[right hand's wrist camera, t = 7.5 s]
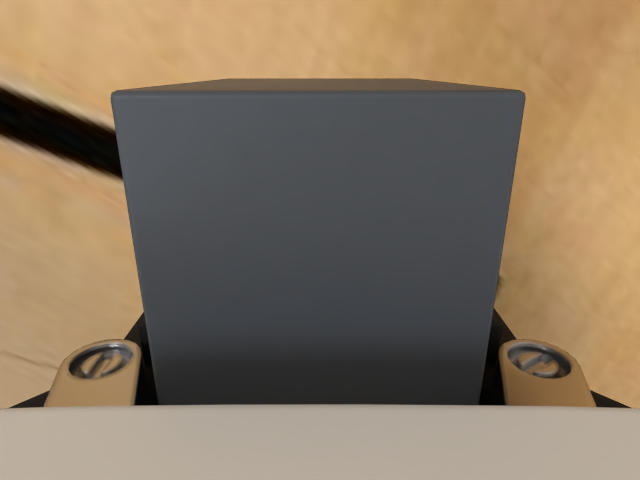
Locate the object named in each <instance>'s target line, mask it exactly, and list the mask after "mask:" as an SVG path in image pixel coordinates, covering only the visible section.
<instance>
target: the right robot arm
mask: <svg viewBox="0 0 640 480" xmlns="http://www.w3.org/2000/svg"><path fill="white" fill-rule="evenodd" d="M0 480H640V409H637V408H630V407H628V406H626V405H623V404H621V403H619V402H616V401H614V400H612V399H609V398H607V397H605V396H602V395H600V394H598V393H595V392H593V391H591V390H590V389H589V387H588V384H587V382H586V380H585V377H584V375H583V372H582V370H581V367H580V365H579V364H578V362H577V361H576V359H575V358H573V357H572V356H571V355H570V354H569V353H567V352H566V351H564V350H562V349H560V348H558V347H556V346H554V345H551V344H548V343H545V342H541V341H536V340H529V339H518V340H517V339H516V338H515V336H514V335H513V334H512V332H511V331H510V330H509V328H508V327H507V325H506V324H505V323H504V321H503V320H502V318H501V317H500V316H499V314H498V313H497V312H496V310H495V309H494V308H493V315H492V321H491V328H490V334H489V341H488V348H487V354H486V361H485V367H484V374H483V380H482V387H481V394H480V400H479V405H374V404H289V405H158V398H157V392H156V385H155V379H154V373H153V366H152V360H151V353H150V347H149V341H148V334H147V328H146V321H145V315H144V312H143V314H142V315H141V316H140V318H139V319H138V321H137V322H136V323H135V325H134V326H133V328H132V329H131V330H130V332H129V333H128V334H127V336H126V337H125V339H124V340H122V339H111V340H104V341H99V342H95V343H92V344H89V345H86V346H84V347H82V348H80V349H78V350H76V351H74V352H73V353H71V354H70V355H69V356H68V357H67V358H65V359H64V361H63V362H62V364H61V365H60V367H59V370H58V372H57V375H56V377H55V380H54V382H53V384H52V387H51V389H50V391H47V392H45V393H43V394H40V395H38V396H36V397H33V398H31V399H29V400H26V401H24V402H22V403H19V404H17V405H15V406H12V407H10V408H4V409H0Z"/></svg>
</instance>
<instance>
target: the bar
mask: <svg viewBox="0 0 640 480" xmlns="http://www.w3.org/2000/svg"><path fill="white" fill-rule="evenodd" d="M111 104H112V110H113V117H114V123H115V130H116V136H117V142H118V149H119V155H120V162H121V168H122V174H123V181H124V187H125V193H126V200H127V206H128V213H129V219H130V225H131V232H132V238H133V245H134V251H135V257H136V264H137V270H138V277H139V283H140V289H141V296H142V302H143V309H144V315H145V321H146V328H147V334H148V341H149V347H150V353H151V360H152V366H153V373H154V379H155V385H156V392H157V398H158V405H289V404H374V405H479V400H480V394H481V387H482V380H483V374H484V367H485V361H486V354H487V348H488V341H489V334H490V328H491V321H492V315H493V308H494V302H495V295H496V289H497V282H498V275H499V269H500V262H501V256H502V249H503V243H504V236H505V229H506V223H507V216H508V210H509V203H510V197H511V190H512V184H513V177H514V170H515V164H516V157H517V151H518V144H519V138H520V131H521V124H522V118H523V111H524V105H525V93H524V92H522V91H520V90H513V89H503V88H494V87H485V86H475V85H466V84H457V83H448V82H438V81H429V80H420V79H221V80H211V81H202V82H192V83H183V84H173V85H164V86H154V87H145V88H135V89H125V90H117V91H115V92H112V94H111Z"/></svg>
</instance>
